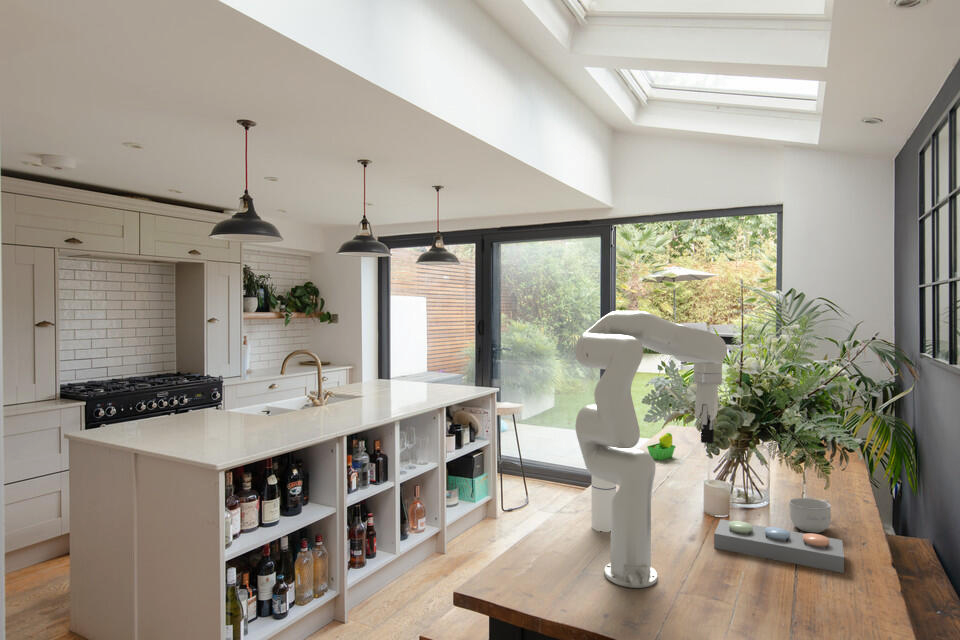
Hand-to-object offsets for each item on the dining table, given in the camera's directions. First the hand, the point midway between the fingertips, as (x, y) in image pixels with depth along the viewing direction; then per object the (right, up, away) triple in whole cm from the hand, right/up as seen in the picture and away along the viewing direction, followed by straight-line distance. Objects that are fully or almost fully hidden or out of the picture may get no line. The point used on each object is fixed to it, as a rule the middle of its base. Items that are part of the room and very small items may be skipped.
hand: (707, 442), depth 164 cm
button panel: (+15, -27, -9) cm, 33 cm away
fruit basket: (+14, -25, +86) cm, 90 cm away
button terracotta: (+23, -26, -14) cm, 37 cm away
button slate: (+15, -26, -9) cm, 31 cm away
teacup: (+34, -27, +7) cm, 44 cm away
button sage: (+7, -26, -5) cm, 27 cm away
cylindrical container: (-28, -27, +8) cm, 40 cm away
